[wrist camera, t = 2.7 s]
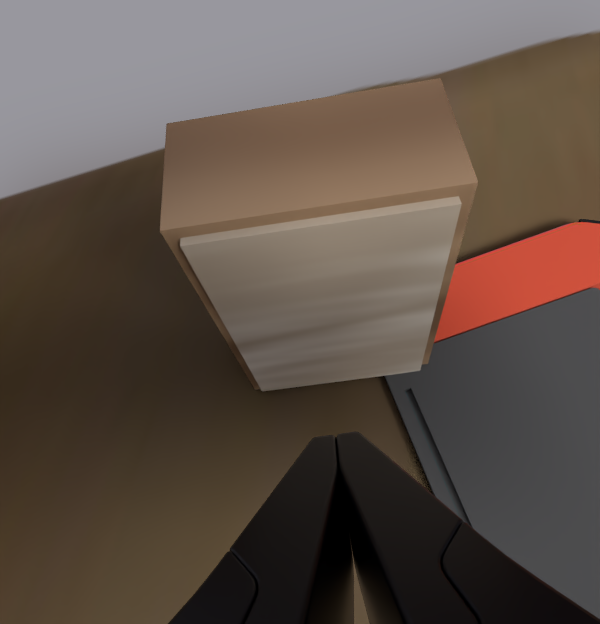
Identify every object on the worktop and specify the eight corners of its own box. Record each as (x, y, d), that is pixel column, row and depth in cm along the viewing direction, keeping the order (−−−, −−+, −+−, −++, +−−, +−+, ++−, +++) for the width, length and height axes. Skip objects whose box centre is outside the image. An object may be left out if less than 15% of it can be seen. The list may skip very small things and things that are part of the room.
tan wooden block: (428, 373, 17) (481, 190, 9) (255, 395, 17) (159, 238, 9) (409, 293, 18) (440, 78, 10) (251, 315, 19) (166, 124, 11)
